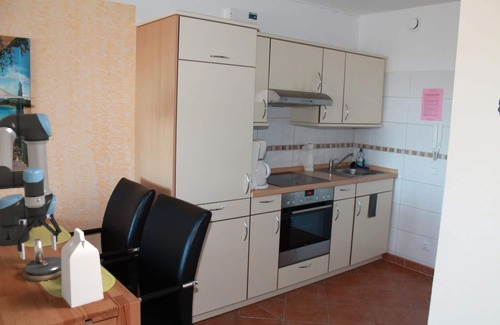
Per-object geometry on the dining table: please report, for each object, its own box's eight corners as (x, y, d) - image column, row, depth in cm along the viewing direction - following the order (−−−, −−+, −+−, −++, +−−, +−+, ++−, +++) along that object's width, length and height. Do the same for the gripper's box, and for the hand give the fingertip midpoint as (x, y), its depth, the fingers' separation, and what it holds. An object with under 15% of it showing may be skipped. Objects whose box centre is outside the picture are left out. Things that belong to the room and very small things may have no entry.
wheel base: (55, 262, 192) (55, 257, 192) (75, 272, 182) (75, 268, 181) (16, 274, 179) (15, 269, 179) (34, 286, 169) (34, 281, 168)
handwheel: (71, 267, 181) (70, 242, 179) (35, 279, 170) (33, 252, 168) (54, 258, 190) (52, 234, 189) (19, 268, 179) (17, 243, 177)
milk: (103, 298, 159) (100, 231, 155) (71, 308, 152) (67, 238, 148) (92, 287, 168) (89, 223, 164) (61, 295, 161) (57, 229, 157)
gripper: (7, 213, 167) (12, 264, 171) (68, 201, 186) (70, 248, 190) (-1, 209, 172) (4, 260, 175) (59, 198, 191) (62, 244, 194)
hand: (38, 253), depth 183 cm, fingers open, 12 cm apart
